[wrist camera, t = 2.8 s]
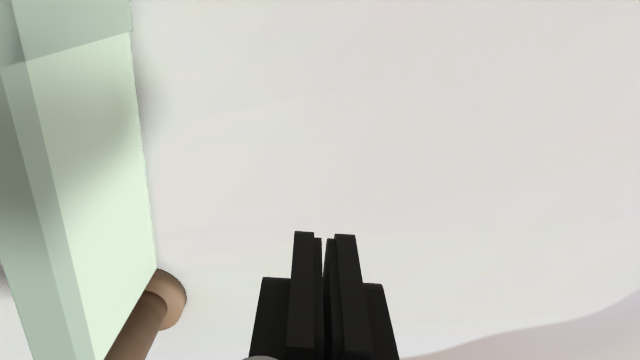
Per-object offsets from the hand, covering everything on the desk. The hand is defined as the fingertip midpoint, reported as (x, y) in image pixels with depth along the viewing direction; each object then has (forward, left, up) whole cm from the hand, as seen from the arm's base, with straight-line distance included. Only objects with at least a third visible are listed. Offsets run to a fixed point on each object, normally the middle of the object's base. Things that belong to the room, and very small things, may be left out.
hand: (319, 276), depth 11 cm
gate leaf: (+9, +1, -9) cm, 13 cm away
